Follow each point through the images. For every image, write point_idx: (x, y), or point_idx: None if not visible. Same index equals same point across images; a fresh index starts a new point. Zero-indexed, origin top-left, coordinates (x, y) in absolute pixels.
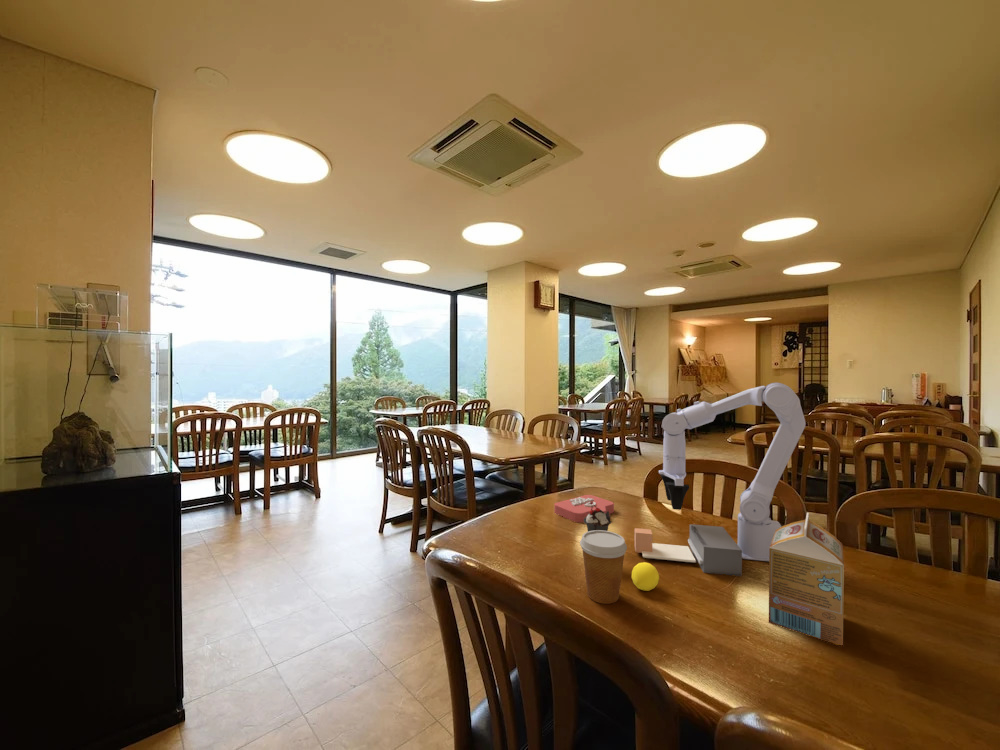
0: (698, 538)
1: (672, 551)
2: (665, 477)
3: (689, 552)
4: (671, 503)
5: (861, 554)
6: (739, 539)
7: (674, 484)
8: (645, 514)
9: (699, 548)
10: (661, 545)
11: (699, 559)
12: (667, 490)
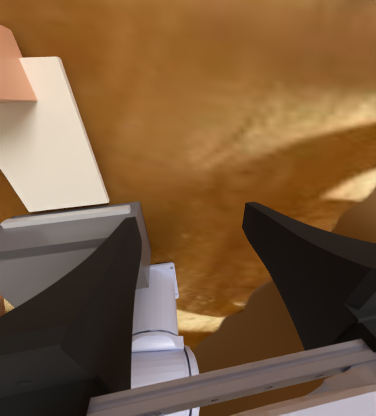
0: (21, 248)
1: (47, 165)
2: (349, 288)
3: (69, 203)
4: (121, 227)
5: (193, 341)
6: (142, 288)
7: (14, 394)
8: (339, 107)
9: (24, 235)
10: (72, 138)
11: (5, 223)
12: (273, 227)
